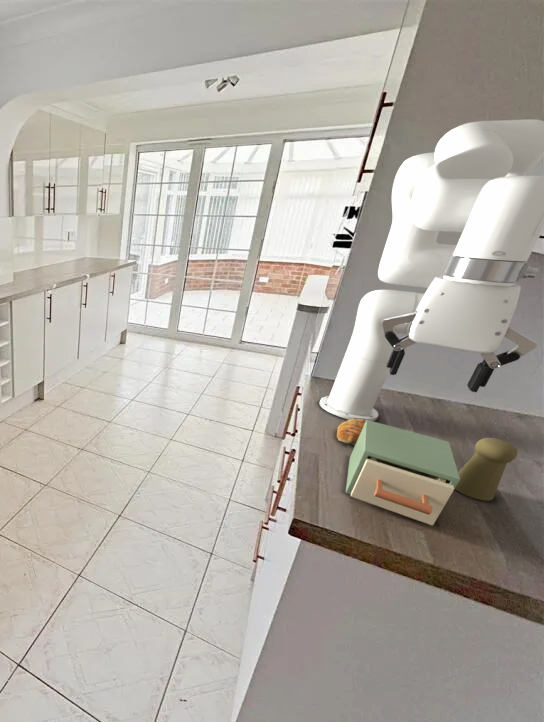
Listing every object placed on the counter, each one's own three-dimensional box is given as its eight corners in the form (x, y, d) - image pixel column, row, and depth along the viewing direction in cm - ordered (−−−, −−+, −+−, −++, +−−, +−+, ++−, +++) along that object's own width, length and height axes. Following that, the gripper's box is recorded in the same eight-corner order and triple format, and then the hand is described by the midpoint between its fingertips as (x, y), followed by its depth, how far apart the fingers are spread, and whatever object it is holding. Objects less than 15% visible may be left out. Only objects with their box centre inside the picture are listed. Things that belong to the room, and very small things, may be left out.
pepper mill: (447, 476, 83) (474, 429, 78) (488, 488, 80) (519, 440, 75) (453, 491, 78) (481, 443, 74) (497, 505, 75) (530, 455, 71)
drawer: (435, 542, 65) (458, 504, 62) (349, 510, 71) (365, 474, 68) (426, 486, 78) (444, 452, 75) (353, 463, 85) (368, 430, 81)
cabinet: (433, 524, 70) (460, 479, 66) (345, 492, 77) (364, 450, 73) (426, 482, 81) (449, 441, 77) (349, 458, 88) (366, 419, 84)
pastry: (362, 452, 90) (368, 437, 88) (327, 439, 95) (333, 424, 93) (374, 438, 95) (381, 424, 94) (341, 426, 100) (346, 413, 98)
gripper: (562, 277, 57) (501, 389, 64) (403, 263, 67) (364, 361, 73) (582, 283, 51) (512, 404, 58) (405, 266, 61) (363, 372, 68)
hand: (430, 380), depth 66 cm, fingers open, 9 cm apart
